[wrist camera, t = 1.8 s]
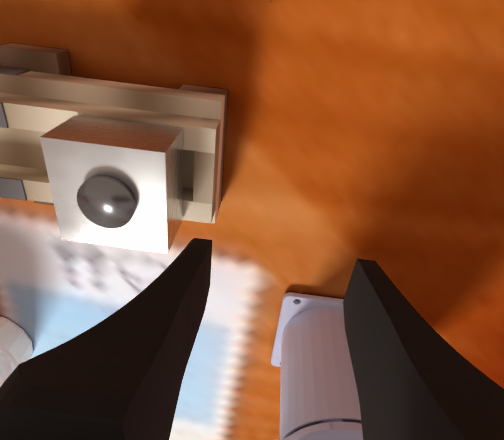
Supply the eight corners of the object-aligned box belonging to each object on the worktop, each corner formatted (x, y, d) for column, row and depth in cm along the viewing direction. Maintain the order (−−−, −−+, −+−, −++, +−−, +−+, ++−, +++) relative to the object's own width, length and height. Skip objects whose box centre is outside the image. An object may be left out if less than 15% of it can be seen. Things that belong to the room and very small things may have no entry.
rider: (189, 118, 18) (162, 156, 14) (188, 206, 21) (165, 258, 17) (89, 106, 18) (34, 140, 14) (101, 194, 21) (57, 244, 17)
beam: (229, 69, 19) (217, 87, 16) (220, 216, 24) (209, 252, 21) (-148, 23, 20) (-235, 31, 16) (-83, 177, 25) (-141, 207, 21)
